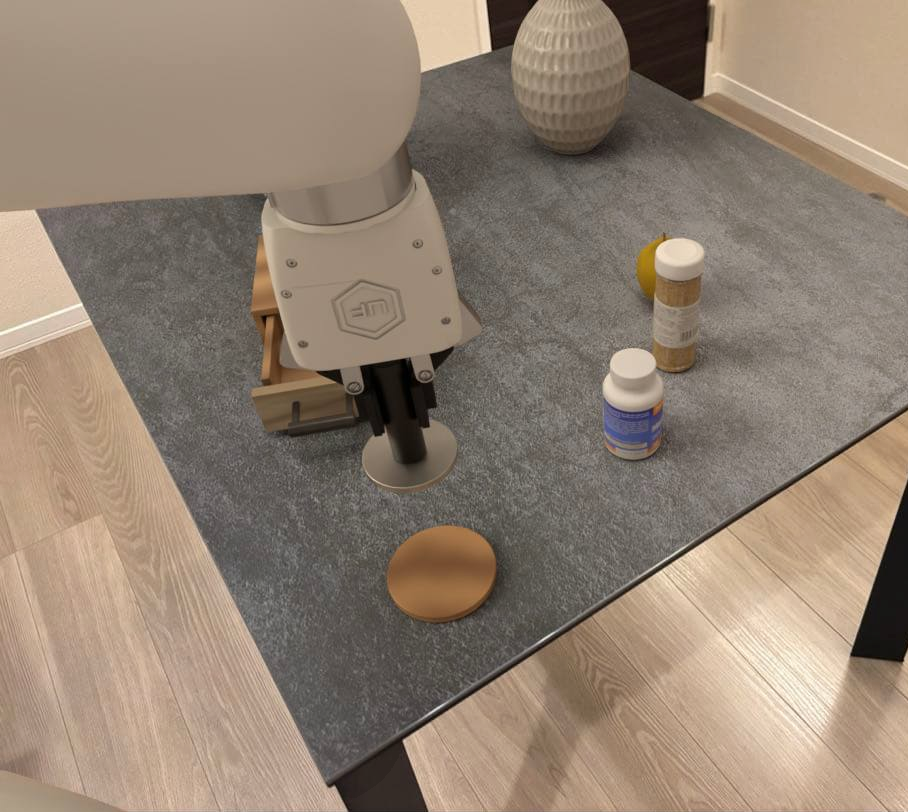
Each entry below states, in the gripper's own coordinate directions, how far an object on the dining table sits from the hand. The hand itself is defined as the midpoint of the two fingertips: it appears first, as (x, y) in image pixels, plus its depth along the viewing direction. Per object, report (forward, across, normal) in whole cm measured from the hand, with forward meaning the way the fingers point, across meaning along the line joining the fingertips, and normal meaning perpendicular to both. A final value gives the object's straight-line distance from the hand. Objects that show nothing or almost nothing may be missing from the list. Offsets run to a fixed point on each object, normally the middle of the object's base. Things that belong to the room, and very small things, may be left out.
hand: (400, 416), depth 56 cm
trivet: (+18, 0, -1) cm, 18 cm away
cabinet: (+18, -9, +38) cm, 43 cm away
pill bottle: (+18, +19, +10) cm, 28 cm away
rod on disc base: (+4, 0, 0) cm, 4 cm away
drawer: (+17, -9, +23) cm, 30 cm away
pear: (+18, +28, +30) cm, 45 cm away
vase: (+18, +27, +69) cm, 76 cm away
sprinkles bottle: (+18, +26, +20) cm, 38 cm away
